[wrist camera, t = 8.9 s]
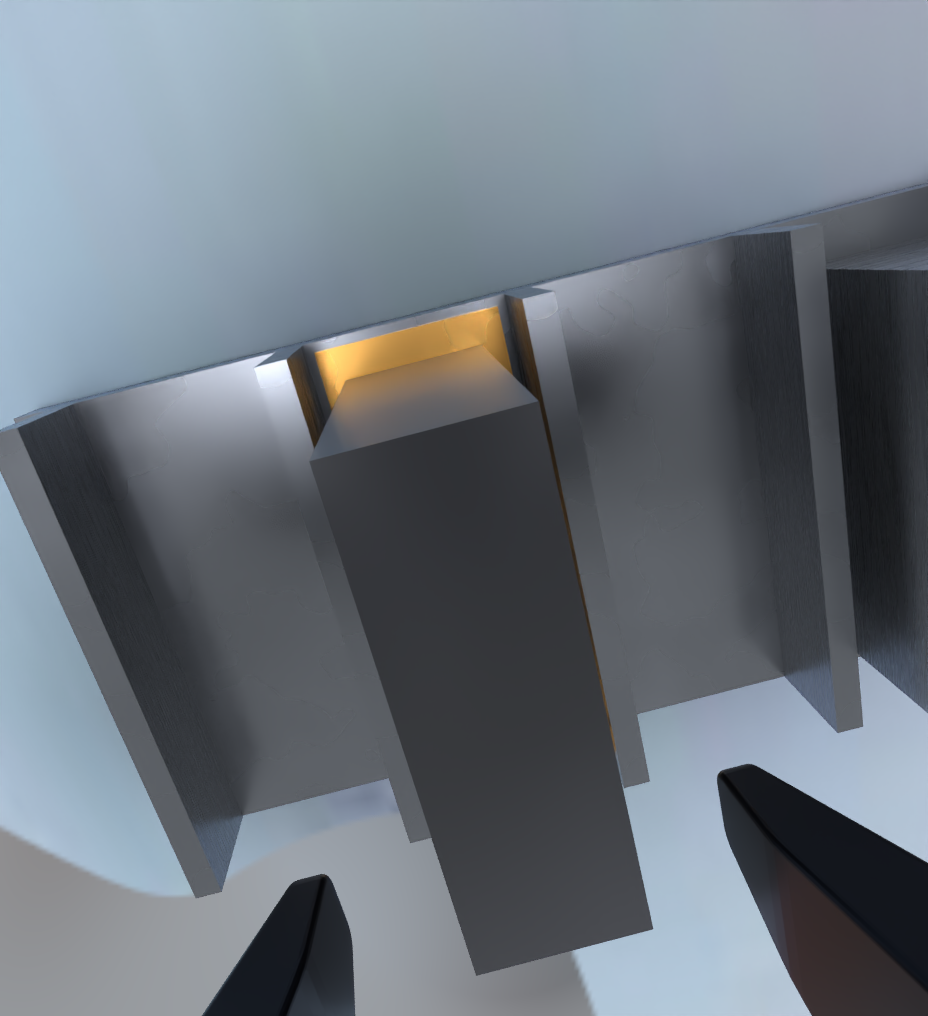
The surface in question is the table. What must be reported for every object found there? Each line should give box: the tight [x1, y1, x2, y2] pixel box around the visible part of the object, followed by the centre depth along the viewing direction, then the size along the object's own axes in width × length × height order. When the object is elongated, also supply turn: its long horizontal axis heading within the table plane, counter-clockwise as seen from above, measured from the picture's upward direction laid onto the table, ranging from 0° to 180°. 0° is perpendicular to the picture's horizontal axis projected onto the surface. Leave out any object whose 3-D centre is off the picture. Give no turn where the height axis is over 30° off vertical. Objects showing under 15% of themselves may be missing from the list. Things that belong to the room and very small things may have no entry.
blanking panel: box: [309, 345, 653, 975], centre depth 14 cm, size 3×9×7 cm, turn 14°
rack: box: [0, 183, 928, 898], centre depth 16 cm, size 22×12×6 cm, turn 103°
